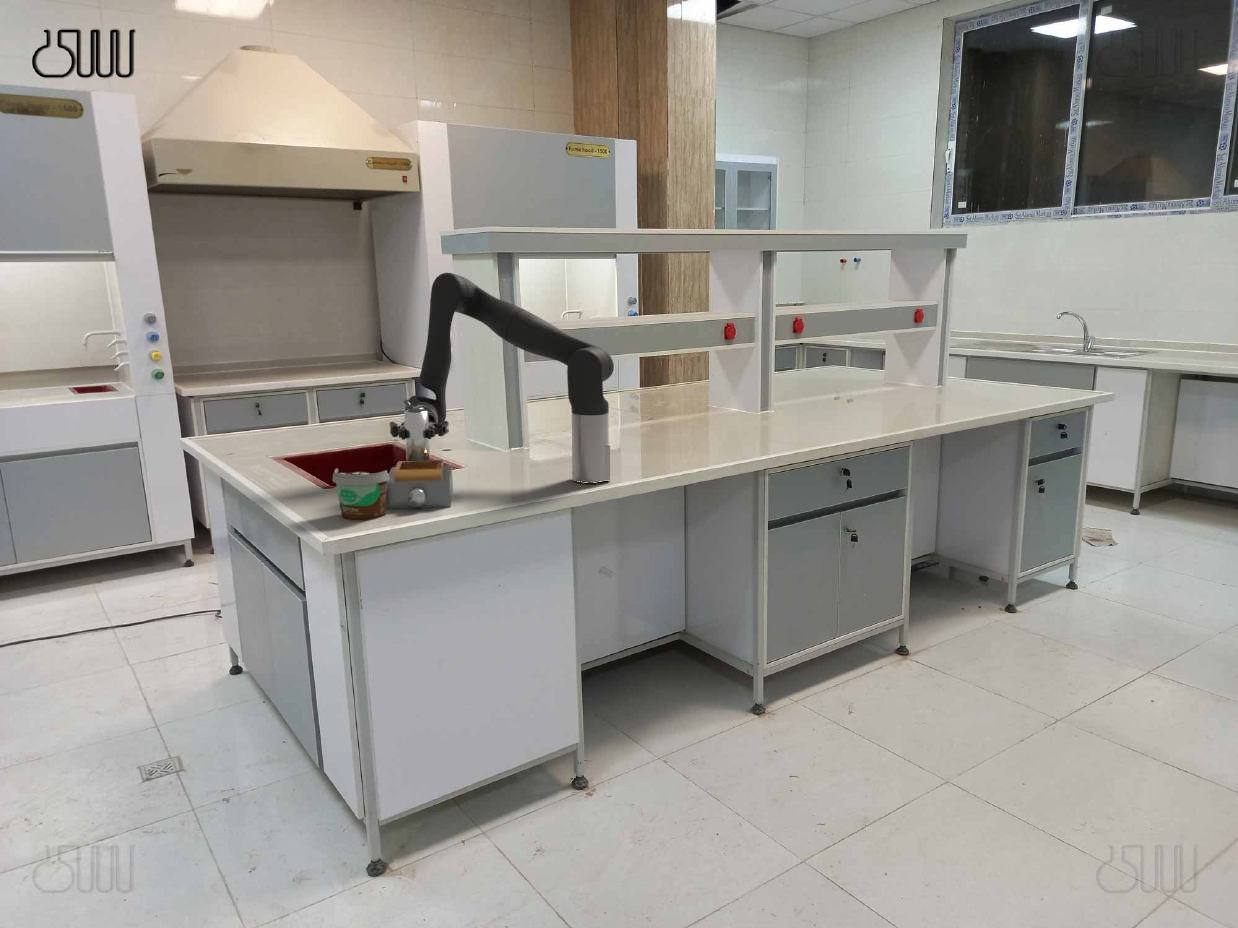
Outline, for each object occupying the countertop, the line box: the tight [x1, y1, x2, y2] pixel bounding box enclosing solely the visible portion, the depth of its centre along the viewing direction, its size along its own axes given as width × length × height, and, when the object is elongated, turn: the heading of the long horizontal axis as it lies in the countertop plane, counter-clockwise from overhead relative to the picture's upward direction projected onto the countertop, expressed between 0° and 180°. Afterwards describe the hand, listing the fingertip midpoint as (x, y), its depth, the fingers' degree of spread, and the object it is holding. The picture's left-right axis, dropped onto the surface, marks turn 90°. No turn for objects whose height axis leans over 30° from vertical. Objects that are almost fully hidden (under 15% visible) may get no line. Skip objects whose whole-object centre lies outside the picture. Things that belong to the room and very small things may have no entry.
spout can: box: [403, 398, 431, 461], centre depth 194 cm, size 5×5×14 cm
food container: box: [332, 467, 390, 522], centre depth 181 cm, size 12×6×10 cm, turn 81°
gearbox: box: [386, 459, 454, 510], centre depth 195 cm, size 14×19×8 cm
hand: (416, 434), depth 192 cm, fingers closed on spout can, 5 cm apart
